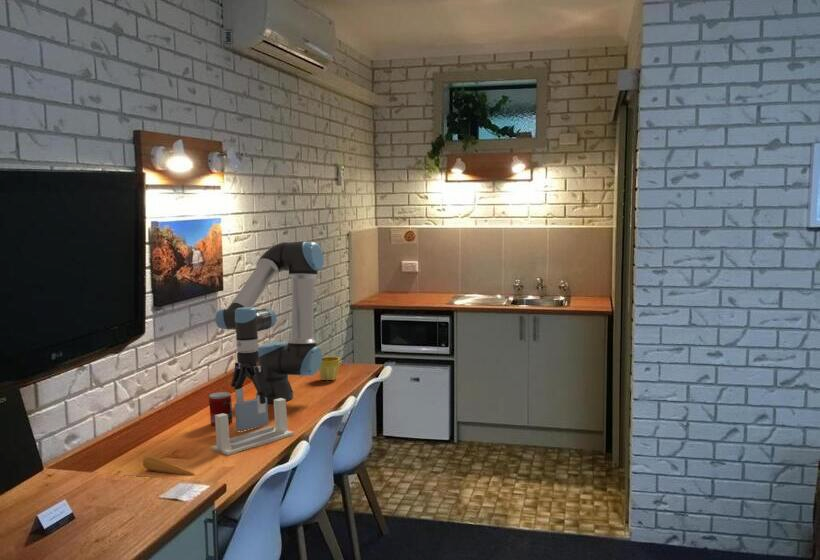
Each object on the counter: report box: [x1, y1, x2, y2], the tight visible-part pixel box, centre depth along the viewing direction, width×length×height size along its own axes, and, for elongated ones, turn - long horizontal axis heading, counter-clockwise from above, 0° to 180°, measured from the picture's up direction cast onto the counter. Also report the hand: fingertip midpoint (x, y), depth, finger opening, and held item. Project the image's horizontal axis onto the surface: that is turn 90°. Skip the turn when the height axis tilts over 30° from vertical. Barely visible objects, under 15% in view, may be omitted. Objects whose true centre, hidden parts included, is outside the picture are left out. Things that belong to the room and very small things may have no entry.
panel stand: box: [211, 398, 295, 456], centre depth 242 cm, size 26×10×12 cm, turn 136°
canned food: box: [208, 391, 233, 427], centre depth 265 cm, size 8×8×11 cm
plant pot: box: [318, 356, 341, 380], centre depth 328 cm, size 10×10×10 cm
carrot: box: [142, 455, 195, 476], centre depth 217 cm, size 20×4×4 cm, turn 69°
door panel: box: [234, 397, 270, 433], centre depth 259 cm, size 12×2×10 cm, turn 136°
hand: (250, 409), depth 258 cm, fingers open, 13 cm apart
